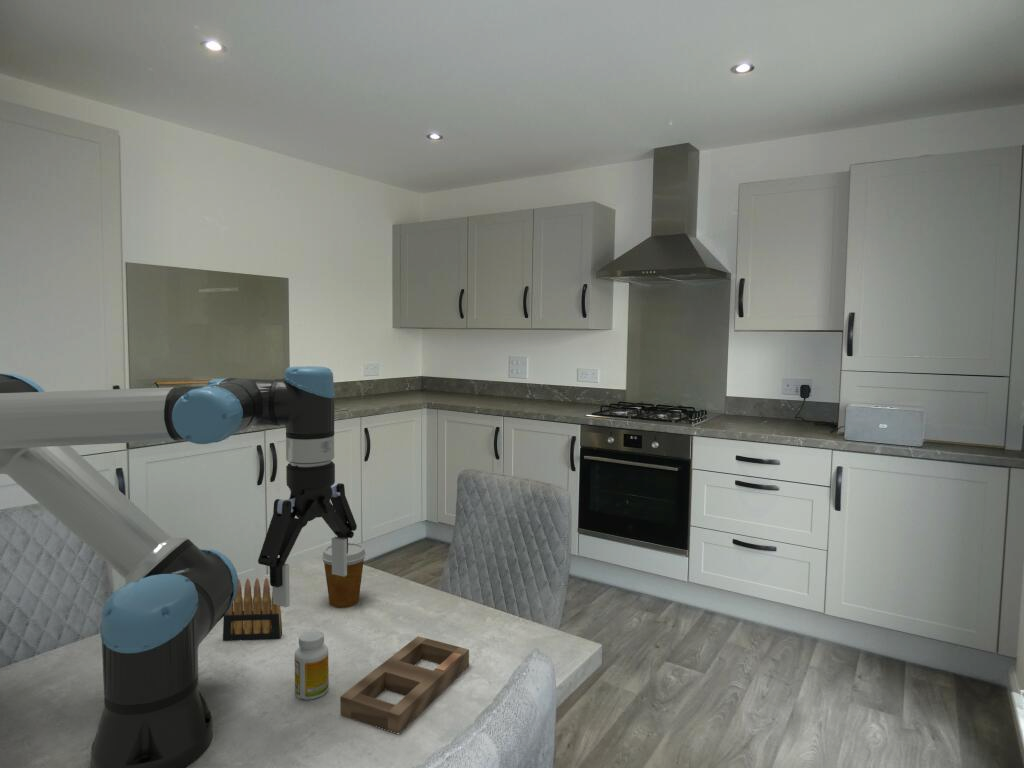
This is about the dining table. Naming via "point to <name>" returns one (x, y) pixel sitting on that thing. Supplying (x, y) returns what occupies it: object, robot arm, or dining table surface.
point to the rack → (404, 684)
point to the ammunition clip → (253, 615)
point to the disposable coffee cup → (347, 587)
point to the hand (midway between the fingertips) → (312, 589)
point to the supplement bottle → (311, 666)
